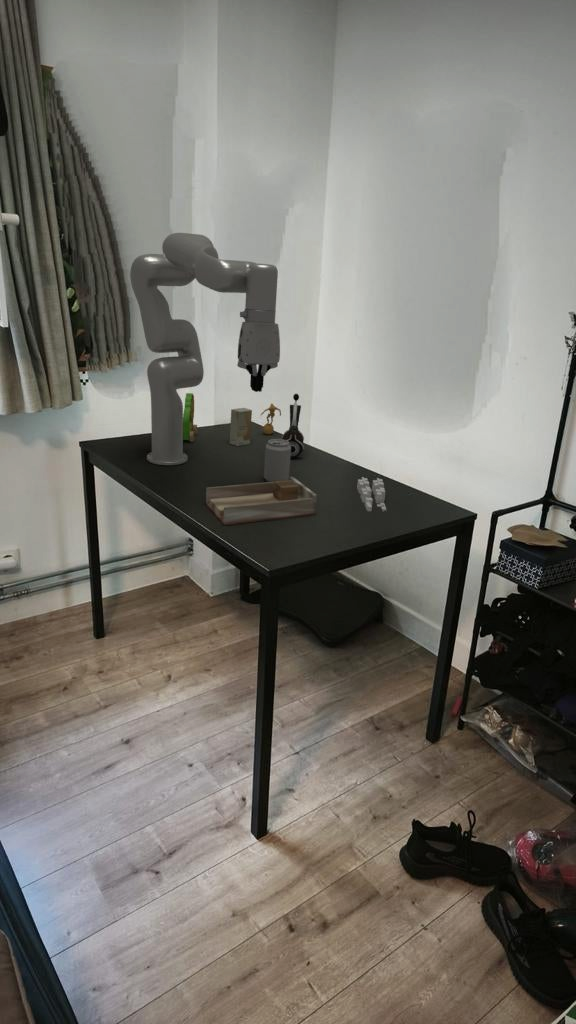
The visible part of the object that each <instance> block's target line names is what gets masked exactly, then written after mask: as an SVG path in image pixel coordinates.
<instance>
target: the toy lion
mask: <svg viewBox="0 0 576 1024" xmlns="http://www.w3.org/2000/svg"><path fill="white" fill-rule="evenodd" d="M194 418H195V395H194V393H193V392H192V393H189V392H186V393H185V398H184V407H183V441H189V442H190V443H193V442H194V441H195V436H197V434H198V424H194Z"/></svg>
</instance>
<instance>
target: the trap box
mask: <svg viewBox="0 0 576 1024" xmlns="http://www.w3.org/2000/svg"><path fill="white" fill-rule="evenodd" d="M288 480H292V481H293V482H294V483H295V484H297V485H298V486H299V492H298V499H295V500H285V501H278V500H277V499H276V498H275V497H274V496H273V486H274V482H268V481H267V482H255V483H244V484H234V485H233V484H232V485H222V486H211V487H206V489H205V504H206V506H207V507H208V508H209V509H210V510H211V512H212V513H214V515H215V516H216V518H218V520H219V521H220V522H221V523H222V524H223V525H224V526H227V525H228V526H229V525H236V524H244V523H245V524H246V523H255V522H261V521H272V520H280V519H287V518H288V519H290V518H297V517H304V516H305V517H306V516H314V515H316V506H317V497H318V496H317V493H315V492H313V490H312V489H310V488H308V487H307V486H306V485H305V484H304V483H302V482H300V481H299V480H298V479H296V478H295V477H294V476H289V479H288Z"/></svg>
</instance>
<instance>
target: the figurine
mask: <svg viewBox="0 0 576 1024" xmlns="http://www.w3.org/2000/svg"><path fill="white" fill-rule="evenodd" d="M269 405H270V406H269V407H268V408H265V410H263V412H261V413H260V417H261V416H262V415H264V413H265V412H267V411H269V413H267V416H266V421H267V423H266V424H264V425H263V427H262V431H263V433H264V434H265V435H271V434H272V433H273V432H274V431H275V430H274V425H273V422H274V419H273V418H274V417H275V415H276V414H275V411H278V412H279V416H280V417H281V416H282V413H281V412H282V411H281V409H280V408H278V407H277V406H275V405H274V404H273V403H271V404H269ZM269 418H270V419H269Z"/></svg>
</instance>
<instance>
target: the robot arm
mask: <svg viewBox="0 0 576 1024" xmlns="http://www.w3.org/2000/svg"><path fill="white" fill-rule="evenodd" d="M161 249H162V254H160V253H146V254H145V253H144V254H142V255H139V256H137V257H135V259H134V260H133V262H132V263H131V266H130V273H129V277H130V283H131V288H132V291H133V294H134V296H135V298H136V301H137V305H138V307H139V312H140V316H141V322H142V328H143V333H144V338H145V341H146V345H147V348H148V349H149V351H151V352H153V353H156V354H164V353H165V354H167V353H168V354H169V353H177V355H178V356H176V355H175V356H163V357H159V358H155V359H153V360H152V361H150V363H149V364H148V366H147V371H146V375H147V381H148V385H149V390H150V391H149V392H150V405H151V407H150V410H151V411H150V412H151V413H150V414H151V416H150V417H151V418H150V419H151V422H150V423H151V452H149V453H147V455H146V460H147V461H148V462H149V463H151V464H154V465H159V466H177V465H181V464H182V465H183V464H185V463H186V462H187V461H188V460H189V459H188V458H189V456H188V455H187V454H186V453H185V452H184V446H183V444H184V440H183V413H184V405H183V404H184V403H183V400H182V398H181V397H180V395H179V393H178V392H177V391H178V390H180V389H187V388H189V389H190V388H195V387H198V386H200V384H202V382H203V379H204V375H205V372H204V371H205V369H204V364H203V359H202V353H201V347H200V342H199V341H200V340H199V336H198V333H197V330H196V328H195V327H194V325H193V323H191V322H190V321H189V320H186V319H176V318H175V319H173V318H172V316H171V315H172V314H171V311H170V310H171V309H170V305H169V303H168V300H167V299H166V297H165V296H164V294H163V293H162V292H161V291H160V289H158V287H184V286H187V285H190V283H192V282H193V281H194V280H195V279H196V281H197V283H199V284H200V285H202V286H204V287H205V288H207V289H210V290H212V291H214V292H217V293H224V294H226V293H229V294H230V293H232V294H233V293H235V294H237V293H238V294H245V305H244V307H245V308H244V310H243V311H239V318H242V319H244V321H242V322H241V326H240V331H239V338H238V345H237V365H236V366H237V367H238V368H240V369H244V370H245V371H247V372H248V373H249V375H250V382H249V383H250V385H249V386H250V388H251V391H253V392H256V393H258V392H262V391H263V388H264V379H265V378H264V377H265V376H266V375H267V373H268V372H269V371H270V370H271V369H275V368H277V367H278V366H279V365H278V363H279V362H280V359H281V339H280V329H279V324H278V323H276V312H277V311H276V310H277V296H278V295H277V293H278V292H277V291H278V290H277V289H278V274H279V273H278V268H277V266H275V265H274V264H267V263H258V262H257V263H256V262H253V261H248V260H247V261H246V260H243V261H242V260H231V259H220V258H219V253H218V251H217V249H216V248H215V247H214V243H213V242H212V240H211V239H210V238H208V237H207V236H206V235H204V234H198V233H187V232H174V233H171V234H169V235H168V236H167V237H165V238H164V240H163V242H162V248H161ZM257 365H258V366H257Z"/></svg>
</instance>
